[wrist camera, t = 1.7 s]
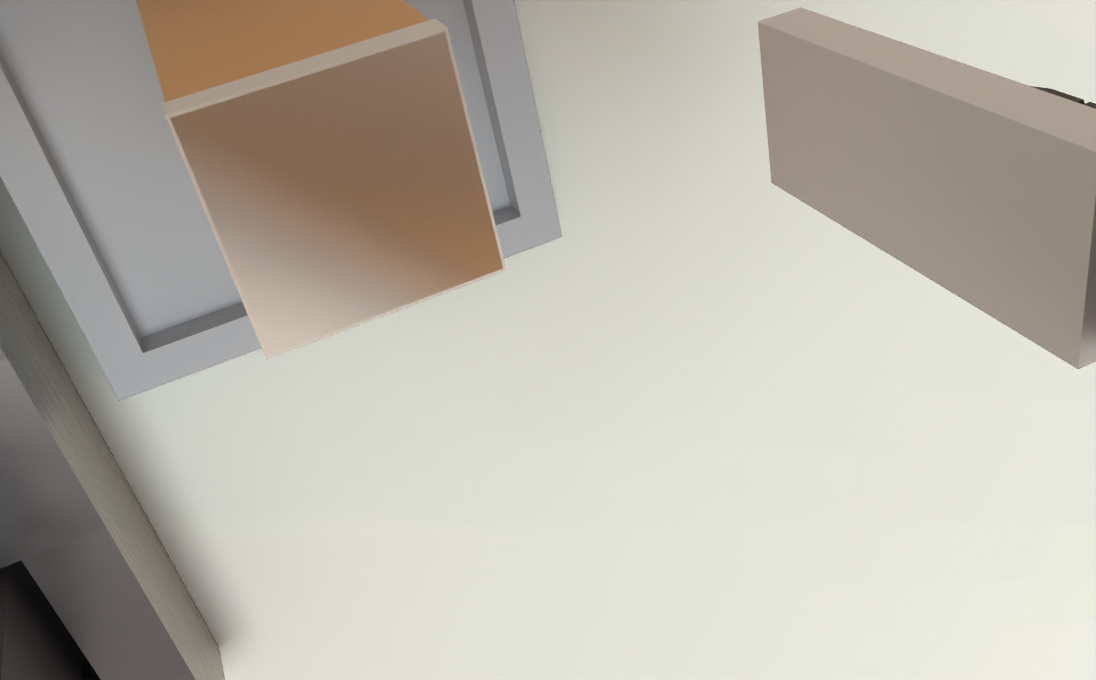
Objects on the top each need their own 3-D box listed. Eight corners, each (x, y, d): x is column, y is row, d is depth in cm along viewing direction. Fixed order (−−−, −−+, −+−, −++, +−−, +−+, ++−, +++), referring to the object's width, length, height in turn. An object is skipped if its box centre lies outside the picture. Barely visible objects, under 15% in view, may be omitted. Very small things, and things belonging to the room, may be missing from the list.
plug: (127, -22, 22) (164, 115, 14) (312, -74, 23) (447, 27, 15) (198, 155, 24) (266, 359, 16) (364, 101, 25) (506, 269, 17)
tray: (-204, -239, 19) (-218, -237, 18) (418, -377, 22) (434, -382, 21) (116, 376, 27) (118, 400, 26) (545, 220, 29) (562, 236, 28)
